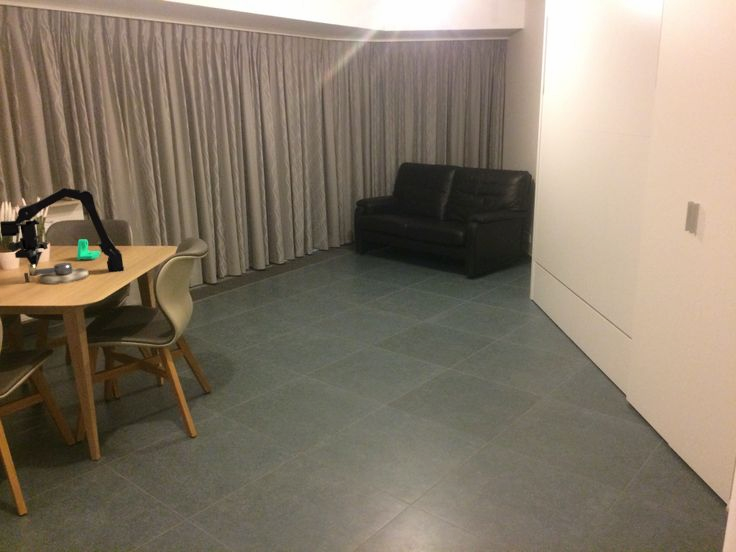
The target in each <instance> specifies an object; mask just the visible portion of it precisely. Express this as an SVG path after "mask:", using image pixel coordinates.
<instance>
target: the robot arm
mask: <svg viewBox="0 0 736 552" xmlns="http://www.w3.org/2000/svg"><path fill="white" fill-rule="evenodd" d="M64 198H69V199H73V200H78V201H80V203H81V204H82V206H83V207H84V208H85V210H86V211H87V213H88V215H89V219H91V222H92V224H93V227H94V228H95V231H96V232H97V235H98V237H99V241H98V242H97V245H98V246H99V248H100V253H103V254H104V256H107V260H106V265H107V270H108V272H109V273H110V272H111V273H112V272H121V271H122V272H123V271H125V269H124V268H125V267H124V262H123V261H124V260H123V254H122V253H121V250H119V249H118V248H116V246H115V244H114V242H113V241H112V240H111V238H110V237H109V235H108V233H107V232H106V229H105V227H104V224H103V223H102V220H101V217H100V216H99V213H98V211H97V210H96V204H95V201H94V196H93V194H92V192H91V191H90V190H88V189H82V190H80V189H74V188H70V187H69V188H68V187H66V186H64V187H61V188H60V189H58V190H57V191H54V192H52V193H51V194H49V195H47V196H45V197H44V198H41V199H40V200H38V201H35V202H33V203H29V204H26V205H22V206H21V207H20V208H19V209H18V213H17V217H16V218H15V219H14V220H6V221H5V220H1V221H0V234H1V237H2V238H5V237H17V236H18V234H20V233H21V237H20V238H19V241H17V242H14V241H12V242H9V243H8V248H7V249H8V251H9V250H10V251H11V252H12V253H14V252H15V253H14V257H15V258H16V259H27V260H28V262H29V264H36V268H37V267H38V264H39V261H40V259H41V256H42V254H43V251H39V250H40V249H43V250H47V249H48V244H47V243H46V242H39V241H38V239H39V238H40V236H39V235H37V228H36V225H40V221H39V220H37V219H36V218H34V217H35V216H37V215H38V213H40V212H41V211H42V210H44V209H46V208H48V207H50V206H51V205H53V204H55V203H57V202H59V201H60V200H63V199H64ZM33 218H34V219H33ZM31 219H33V220H31ZM24 221H25V222H24Z"/></svg>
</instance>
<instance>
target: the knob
mask: <svg viewBox="0 0 736 552" xmlns="http://www.w3.org/2000/svg"><path fill="white" fill-rule="evenodd" d="M27 267H28V274H29V277H35V276H38V275H42V274H46V273H55V275H67V274H71V273H72V268H73V267H72V263H71V262H62V263H56V264H54V265H53V267H46V268H45V267H44V268H37V267H36V264H30V263H29V264H28V265H27Z"/></svg>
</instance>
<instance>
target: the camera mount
mask: <svg viewBox="0 0 736 552" xmlns="http://www.w3.org/2000/svg"><path fill="white" fill-rule="evenodd" d="M88 248H89V241H88V239H82V238H81V239H78V242H77V253H76V259H77V260H80V259H83V260H96V258H97V257H98V258H99V257H100V256H101V253H102V252H101V250H89V249H88ZM98 258H97V259H98Z"/></svg>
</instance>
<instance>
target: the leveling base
mask: <svg viewBox="0 0 736 552" xmlns="http://www.w3.org/2000/svg"><path fill="white" fill-rule="evenodd" d="M88 275H90V274H89V270H88V269H86V268H81V267H80V268H79V267H72V273H71V274H67V275H55V273H46V274H39V276H38V278H39V282H40V283H41V284H44V285H60V284H59V283H64V284H69V282H71V283H75V282H74V281H76V282H80V281H81V280H84V278H85V279H87V278H88V277H89V276H88ZM23 277H24V281H25V283H26V282H27V283H29V282H30V279H29V277H30V276H29V272H24V273H23ZM86 277H87V278H86Z"/></svg>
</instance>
